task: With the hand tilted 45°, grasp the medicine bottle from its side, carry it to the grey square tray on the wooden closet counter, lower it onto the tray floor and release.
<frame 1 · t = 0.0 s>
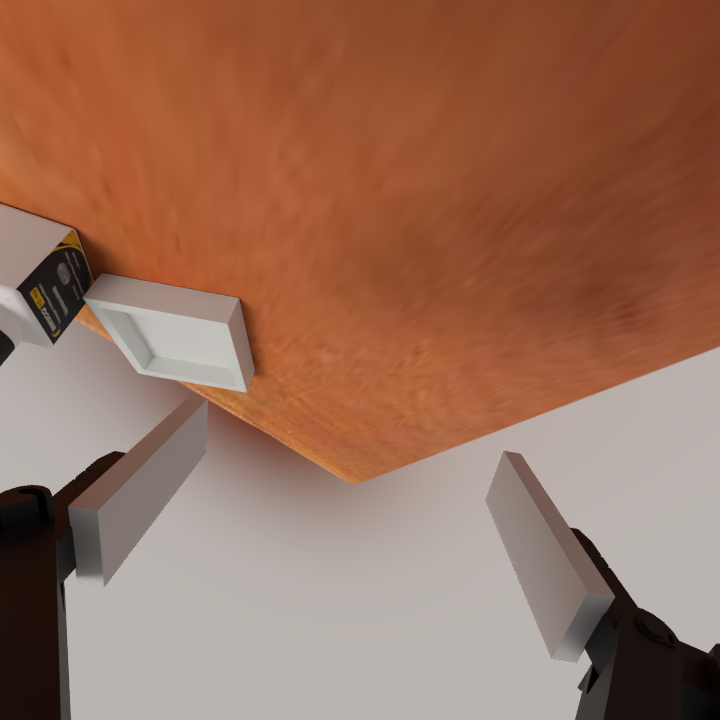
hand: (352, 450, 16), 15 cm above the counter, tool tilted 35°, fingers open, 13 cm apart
grey square tray: (189, 328, 37), on the counter
medicine bottle: (43, 243, 30), on the counter
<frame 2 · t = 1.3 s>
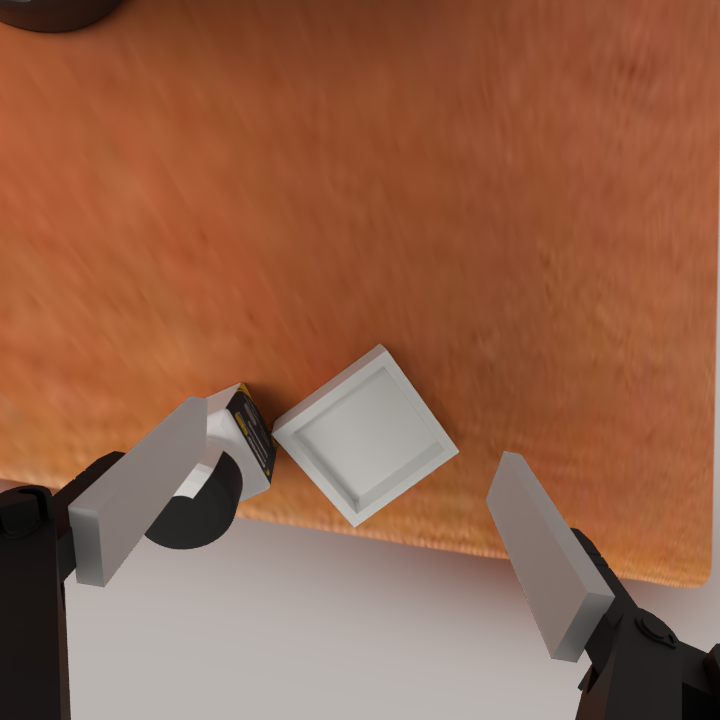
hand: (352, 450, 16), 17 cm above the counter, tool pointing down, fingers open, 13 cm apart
grey square tray: (364, 429, 35), on the counter
medicine bottle: (226, 429, 33), on the counter
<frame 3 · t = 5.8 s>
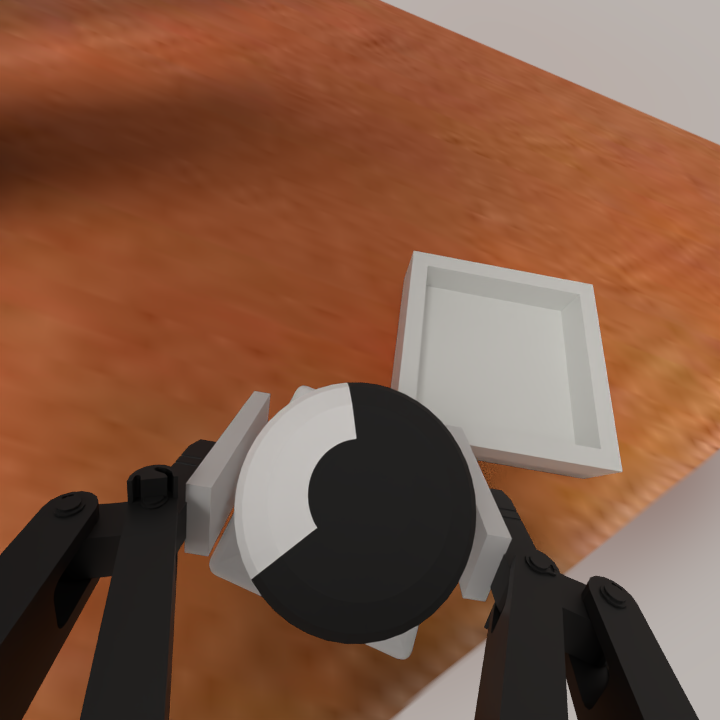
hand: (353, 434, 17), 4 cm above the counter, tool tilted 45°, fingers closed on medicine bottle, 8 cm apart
grey square tray: (484, 368, 24), on the counter
medicine bottle: (337, 511, 19), on the counter, touching gripper
when the fingers open (6 cm above the counter, at t = 10.2 s): medicine bottle drops 1 cm, resting on grey square tray.
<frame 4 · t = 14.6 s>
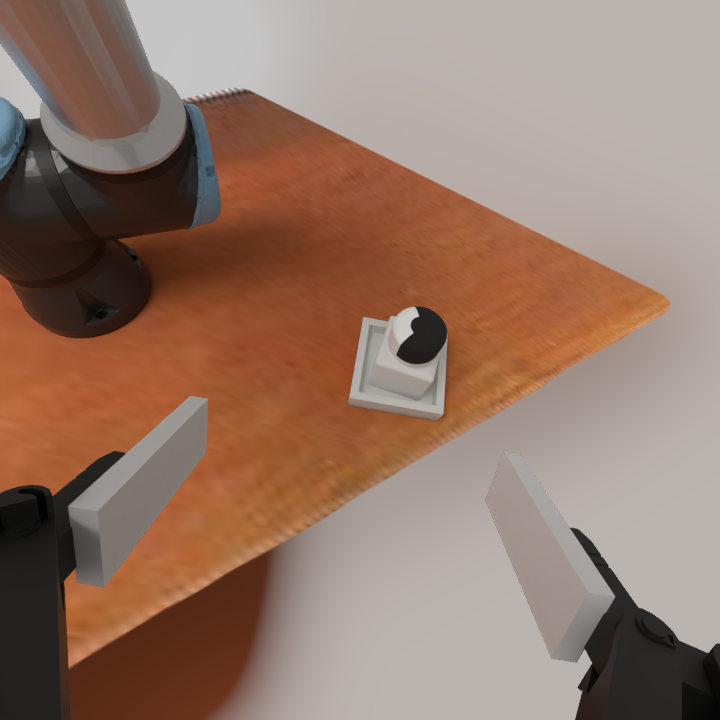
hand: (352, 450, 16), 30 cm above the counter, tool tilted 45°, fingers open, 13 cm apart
grey square tray: (397, 372, 50), on the counter
medicine bottle: (399, 370, 50), point 1 cm above the counter, touching grey square tray
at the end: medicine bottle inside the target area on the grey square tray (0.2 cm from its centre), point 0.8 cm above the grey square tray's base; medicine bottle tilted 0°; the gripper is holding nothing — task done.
